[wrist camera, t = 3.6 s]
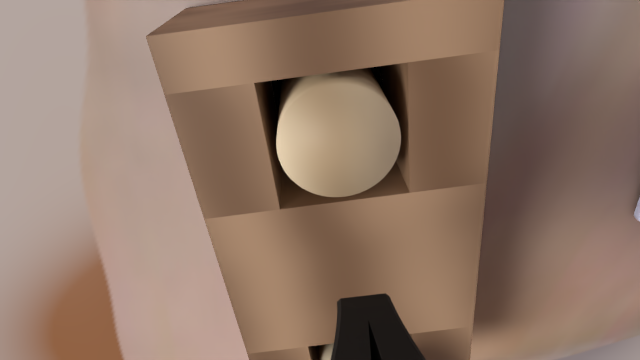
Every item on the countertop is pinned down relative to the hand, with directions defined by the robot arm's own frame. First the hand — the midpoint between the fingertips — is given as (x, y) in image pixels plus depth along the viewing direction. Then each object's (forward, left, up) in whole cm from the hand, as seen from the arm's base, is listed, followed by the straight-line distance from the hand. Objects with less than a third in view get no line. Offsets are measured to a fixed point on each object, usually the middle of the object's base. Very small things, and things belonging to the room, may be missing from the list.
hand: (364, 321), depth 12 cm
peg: (0, -3, -9) cm, 10 cm away
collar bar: (0, +3, -9) cm, 10 cm away
